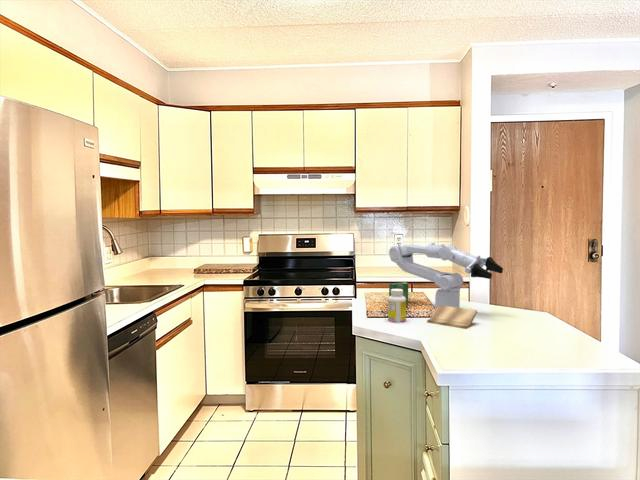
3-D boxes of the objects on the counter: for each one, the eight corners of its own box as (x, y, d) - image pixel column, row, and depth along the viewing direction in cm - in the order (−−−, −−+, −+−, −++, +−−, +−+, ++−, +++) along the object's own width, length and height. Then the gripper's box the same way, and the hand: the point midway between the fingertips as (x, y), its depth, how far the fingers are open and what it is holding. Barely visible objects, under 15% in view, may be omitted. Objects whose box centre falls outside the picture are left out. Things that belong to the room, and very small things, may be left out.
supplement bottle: (405, 321, 185) (405, 288, 184) (406, 325, 179) (406, 291, 178) (387, 320, 186) (387, 288, 185) (388, 325, 179) (388, 291, 178)
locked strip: (427, 322, 179) (427, 319, 179) (429, 321, 180) (429, 318, 180) (466, 329, 169) (466, 326, 169) (468, 327, 171) (468, 325, 171)
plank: (430, 320, 181) (430, 318, 181) (439, 306, 186) (438, 304, 186) (469, 327, 172) (469, 324, 171) (477, 312, 177) (476, 310, 176)
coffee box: (404, 312, 199) (404, 281, 198) (408, 314, 196) (408, 282, 195) (388, 315, 195) (388, 283, 194) (392, 316, 192) (392, 284, 191)
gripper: (457, 256, 187) (487, 269, 178) (478, 247, 196) (509, 259, 186) (454, 272, 190) (484, 286, 181) (475, 262, 199) (505, 275, 189)
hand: (496, 273), depth 184 cm, fingers open, 7 cm apart
